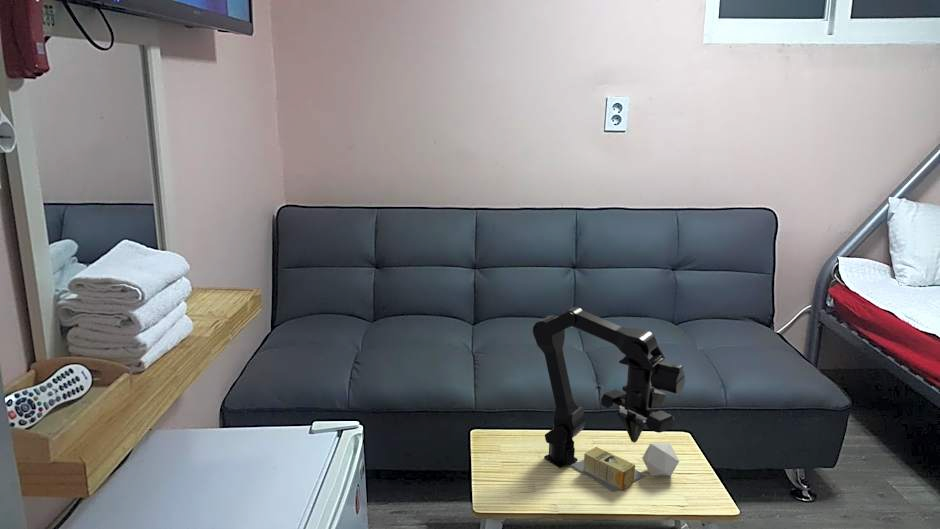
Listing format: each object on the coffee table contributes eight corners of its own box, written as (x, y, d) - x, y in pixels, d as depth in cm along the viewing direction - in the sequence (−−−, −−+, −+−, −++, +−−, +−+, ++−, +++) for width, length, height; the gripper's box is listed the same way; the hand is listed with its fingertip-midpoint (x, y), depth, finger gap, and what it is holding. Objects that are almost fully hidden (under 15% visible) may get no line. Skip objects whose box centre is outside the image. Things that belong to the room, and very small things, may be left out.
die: (670, 488, 178) (689, 454, 179) (640, 470, 178) (660, 436, 179) (661, 481, 186) (679, 449, 187) (632, 464, 186) (651, 432, 187)
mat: (571, 466, 186) (571, 465, 186) (603, 452, 193) (603, 451, 193) (612, 491, 175) (612, 490, 175) (645, 476, 182) (645, 475, 182)
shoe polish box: (635, 464, 177) (596, 446, 186) (623, 472, 174) (584, 453, 182) (633, 482, 179) (595, 463, 187) (622, 489, 175) (583, 470, 184)
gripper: (691, 388, 168) (686, 447, 172) (631, 363, 183) (627, 418, 187) (661, 400, 162) (656, 461, 166) (601, 373, 176) (597, 430, 181)
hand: (634, 441), depth 175 cm, fingers closed
